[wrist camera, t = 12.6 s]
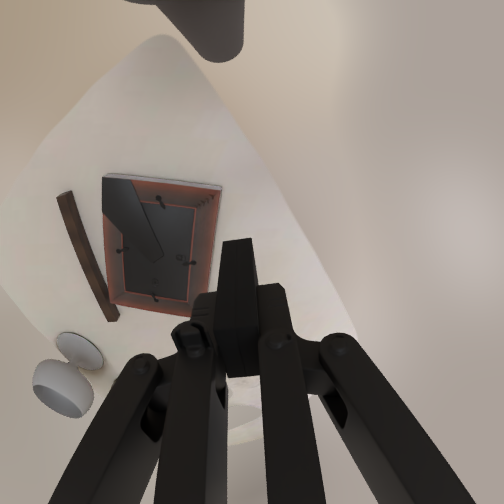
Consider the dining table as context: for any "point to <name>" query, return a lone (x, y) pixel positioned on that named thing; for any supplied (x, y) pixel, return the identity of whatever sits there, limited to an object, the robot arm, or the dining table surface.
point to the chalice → (68, 377)
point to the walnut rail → (86, 255)
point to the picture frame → (158, 241)
